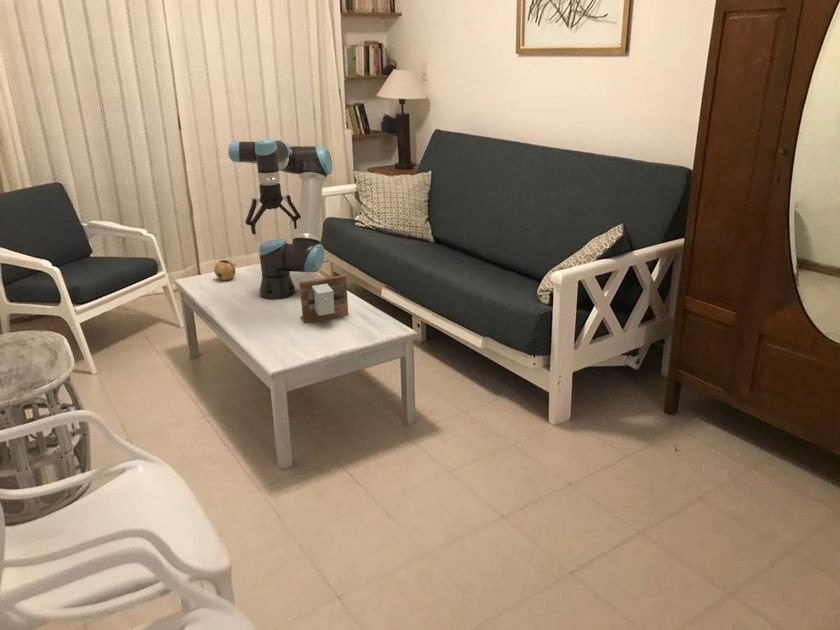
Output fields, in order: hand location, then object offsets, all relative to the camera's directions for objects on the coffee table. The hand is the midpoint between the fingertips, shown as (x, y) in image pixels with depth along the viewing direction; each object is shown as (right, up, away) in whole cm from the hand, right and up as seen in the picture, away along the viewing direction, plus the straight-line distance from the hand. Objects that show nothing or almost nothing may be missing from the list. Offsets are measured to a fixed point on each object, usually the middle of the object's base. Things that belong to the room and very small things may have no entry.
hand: (275, 240), depth 256 cm
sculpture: (-35, -12, +59) cm, 70 cm away
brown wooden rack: (+17, -29, +11) cm, 36 cm away
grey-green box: (+18, -27, +3) cm, 32 cm away
